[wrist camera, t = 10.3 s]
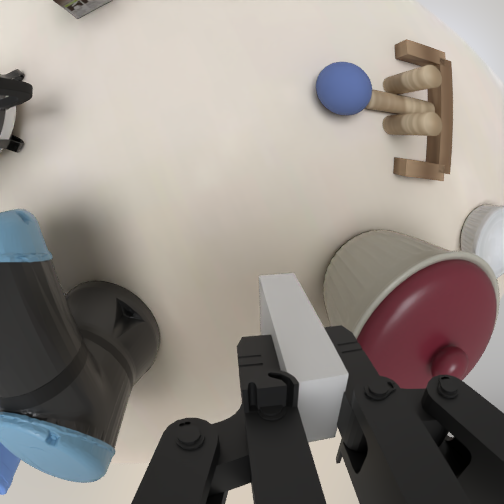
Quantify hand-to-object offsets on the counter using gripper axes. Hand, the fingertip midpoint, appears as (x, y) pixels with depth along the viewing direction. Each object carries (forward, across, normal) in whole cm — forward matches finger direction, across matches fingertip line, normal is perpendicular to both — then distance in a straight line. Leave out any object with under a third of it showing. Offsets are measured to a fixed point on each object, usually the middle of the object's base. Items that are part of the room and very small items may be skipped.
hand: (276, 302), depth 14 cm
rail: (+23, +23, +12) cm, 34 cm away
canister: (+23, +16, -10) cm, 30 cm away
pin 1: (+23, +19, +14) cm, 33 cm away
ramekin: (+23, +36, -5) cm, 43 cm away
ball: (+20, +11, +13) cm, 26 cm away
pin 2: (+23, +18, +9) cm, 31 cm away
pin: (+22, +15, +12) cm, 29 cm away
